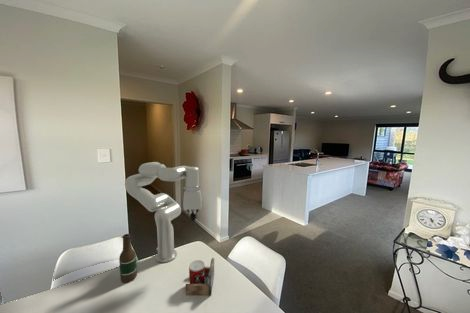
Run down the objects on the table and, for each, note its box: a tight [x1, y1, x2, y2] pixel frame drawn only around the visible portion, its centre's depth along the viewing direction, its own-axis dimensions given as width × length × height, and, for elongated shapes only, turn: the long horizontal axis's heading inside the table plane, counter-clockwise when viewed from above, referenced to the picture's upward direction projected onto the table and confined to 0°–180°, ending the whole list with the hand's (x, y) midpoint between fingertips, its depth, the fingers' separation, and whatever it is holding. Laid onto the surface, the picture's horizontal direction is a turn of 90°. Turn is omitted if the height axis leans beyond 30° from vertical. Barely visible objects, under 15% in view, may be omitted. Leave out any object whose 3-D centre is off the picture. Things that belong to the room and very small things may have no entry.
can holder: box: [185, 257, 215, 297], centre depth 98 cm, size 12×13×10 cm
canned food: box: [188, 259, 206, 284], centre depth 97 cm, size 8×8×11 cm
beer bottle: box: [118, 233, 138, 284], centre depth 102 cm, size 8×8×24 cm
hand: (193, 219), depth 111 cm, fingers closed
